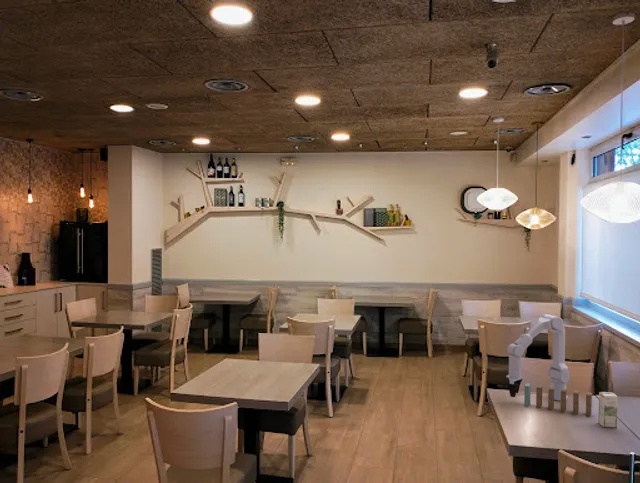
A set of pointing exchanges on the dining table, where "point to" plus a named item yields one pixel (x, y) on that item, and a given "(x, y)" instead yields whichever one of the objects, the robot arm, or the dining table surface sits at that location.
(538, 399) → the domino
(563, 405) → the domino
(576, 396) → the domino
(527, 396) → the domino
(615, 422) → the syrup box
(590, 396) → the domino
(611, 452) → the dining table surface
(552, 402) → the domino
